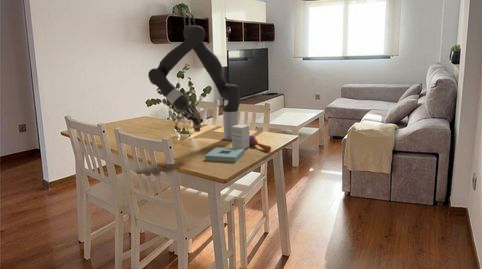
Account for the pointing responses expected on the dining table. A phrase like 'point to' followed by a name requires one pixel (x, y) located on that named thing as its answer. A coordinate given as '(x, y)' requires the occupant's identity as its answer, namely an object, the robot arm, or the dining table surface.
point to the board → (224, 154)
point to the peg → (197, 116)
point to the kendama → (254, 142)
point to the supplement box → (240, 136)
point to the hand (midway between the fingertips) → (200, 123)
